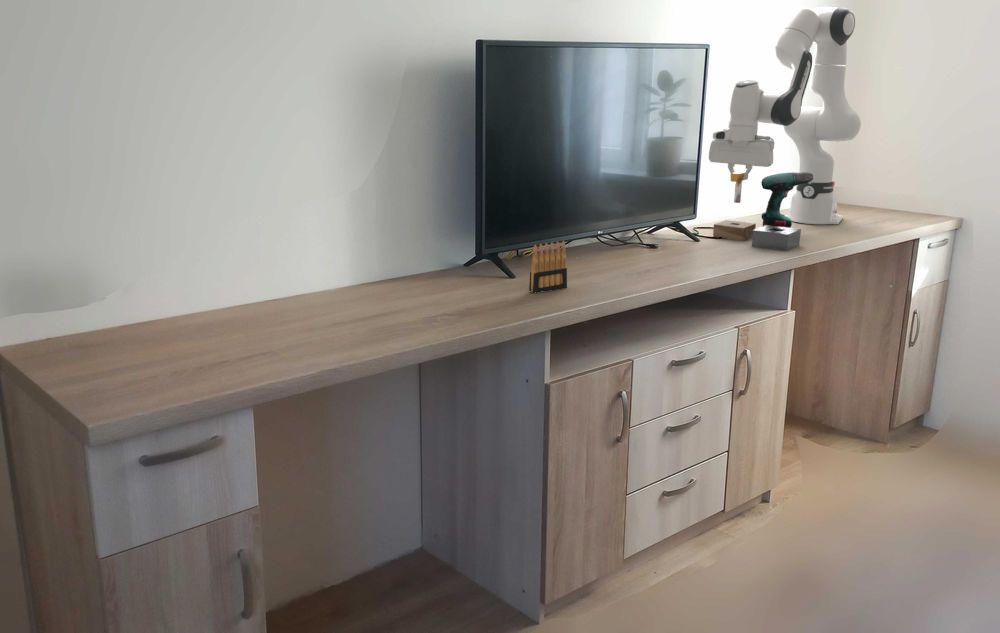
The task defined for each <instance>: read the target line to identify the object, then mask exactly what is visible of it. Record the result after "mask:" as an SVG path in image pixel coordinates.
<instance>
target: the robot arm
mask: <svg viewBox="0 0 1000 633" xmlns="http://www.w3.org/2000/svg"><path fill="white" fill-rule="evenodd" d="M855 27H856V16H855V15H854V13H853V12H852V10H851V9H850V8H848V7H847V8H846V7H841V6H840V7H839V6H838V7H834V6H833V7H832V6H831V7H830V6H821V7H815V8H810V7H806V6H801V7H798V8H796V9H795V10H793V12H791V14H790V15H789V16H788V18H787V19H786V20H785V22H784V23H783V25H782V27H781V29H780V31H779V32H778V33H777V36H776V37H775V40H774V42H773V47H772V49H773V55H774V56H775V58H776V60H777V61H778V62H779V63H780V64H781V65H782V66H783V67H784V68H788V69H790V70H792V74H791V76H790V80H789V83H788V86H787V89H785V90H783V91H765V90H764V89H762V88H761V87H760V82H758V81H757V80H753V79H752V80H750V79H749V80H741V81H737V82H736V83H734V85H733V88H732V91H731V95H730V101H729V114H730V117H729V118H730V119H729V121H728V128H724V129H722V130H717V131H716V132H713V133H712V141H711V142H710V146H709V150H708V160H709V162H710V163H716V164H727V168H728V171H729V173H730V174H731V173H734V172H736V171H735V165H742V166H745V169H746V170H745V171H746V172H745V173H743V174H742V177H741V179H743V181H747V180H748V179H749V173H751V171H752V169H753V167H765V168H768V167H771V166H772V165H773V163H774V149H775V140H774V139H773V138H772V137H771V136H770V135H758V126H759V123H762V124H763V123H764V124H773V125H778V126H783V129H784V133H785V134H786V136H788V137H790V138H791V140H792V141H793V143H794V145H795V146H796V148H797V150H798V155H799V172H798V173H801V172H809V173H812V174H813V175H814V177H813V180H812V181H810V182H807V183H803V184H799V185H796V192H795V193H793V194H792V195H791V199H790V204H789V205H790V206H789V212H788V214H784V216H785V217H788V218H790V219H791V220H792V222H795V223H799V224H808V225H839V224H840V223H841V221H842V219H843V215H841V214H839V213H838V214H837V210H838V201H837V199H836V196H835V195H834V187H835V183H836V182H835V181H834V180H833V178H834V176H833V175H834V167H835V160H834V158H833V156H832V154H830V153H829V152H827V151H826V150H824V149H823V148H822V145H821V143H820V142H821V141H826V142H836V143H838V142H846V141H847V142H848V141H852V140H854V139H855V138H856V136H858V134H859V132H860V129H861V122H862V121H861V118H860V116H859V114H858V113H857V111H855V110H854V109H853V108H852V107H851V105H850V104H849V102H848V100H847V97H846V93H845V79H846V69H847V61H848V59H847V58H848V43H847V42H848V40H849V39H850V37H852V35H853V33H854V30H855ZM813 44H815V48H814V51H813V53H811V51H810V50H811V48H812V46H813ZM808 82H809V83H808ZM807 85H808V86H809V89H810V90H811V92H812V93H813V94H814V95H815V96H817V97H819V98H820V100H822V107H818V106H817V107H816V106H802V104H803V99H804V95H805V92H806V89H807Z"/></svg>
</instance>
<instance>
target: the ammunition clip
mask: <svg viewBox="0 0 1000 633" xmlns="http://www.w3.org/2000/svg"><path fill="white" fill-rule="evenodd" d="M544 244H545V245H544V247H543V244H542V243H540V244H539V247H538V246H537V244H534V246H533V249H532V257H531V258H532V259H531V263H530V264H531V270H530V272H529V285H528V286H529V287H528V288H529V289H528V292H529V291H531V292H533V293H532V294H534V293H535V292H541V291H547V292H550V291H549V290H552V291H556V289H558V290H563V288H564V289H568V273H567V272H568V268H567V256H566V254H567V252H566V242H565V240H562V242H561V246H560V242H559V240H558V241H556V243H555V244H554V242H553V241H551V243H550V246H549V244H548V242H545V243H544ZM531 292H530V293H531ZM541 293H542V292H541ZM535 294H536V293H535Z"/></svg>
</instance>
